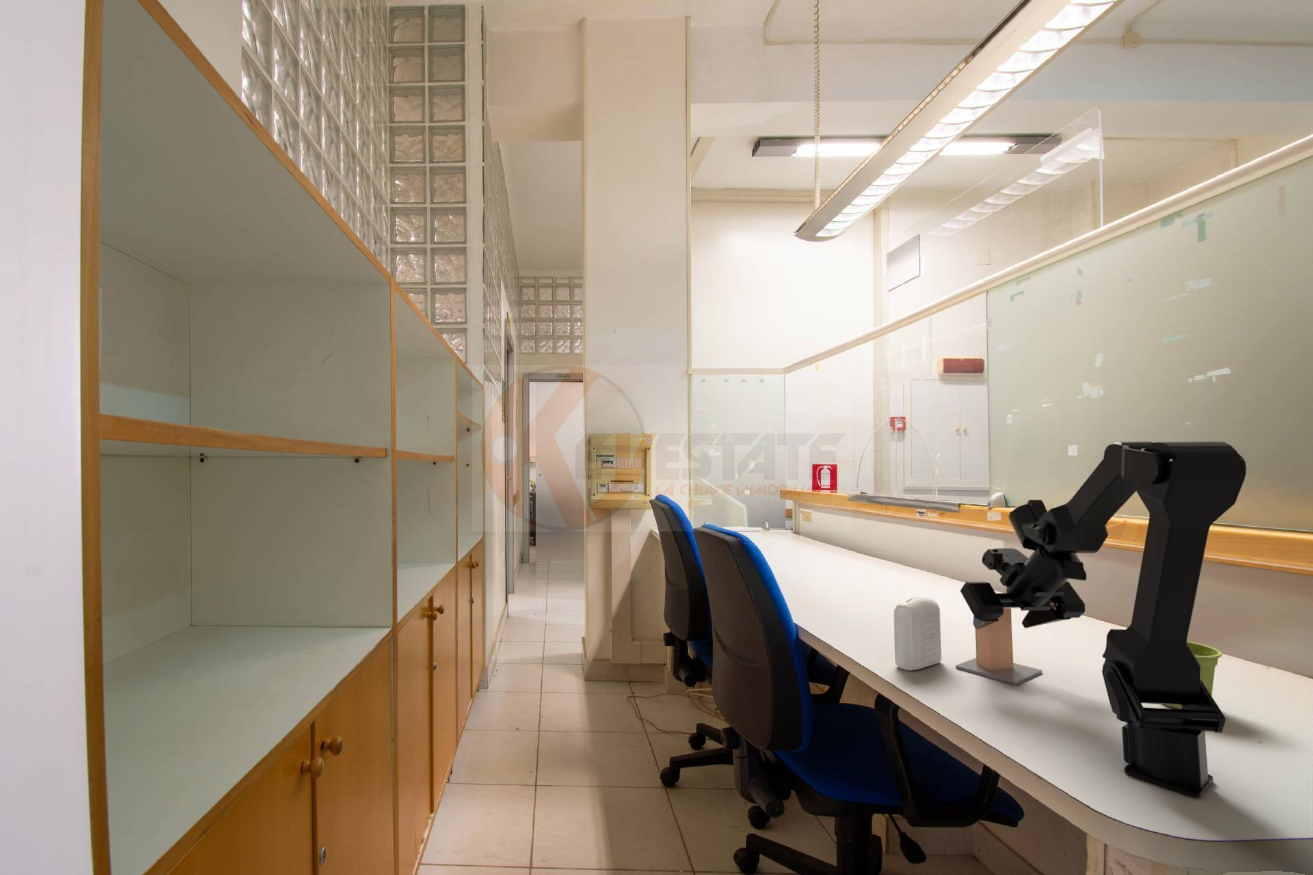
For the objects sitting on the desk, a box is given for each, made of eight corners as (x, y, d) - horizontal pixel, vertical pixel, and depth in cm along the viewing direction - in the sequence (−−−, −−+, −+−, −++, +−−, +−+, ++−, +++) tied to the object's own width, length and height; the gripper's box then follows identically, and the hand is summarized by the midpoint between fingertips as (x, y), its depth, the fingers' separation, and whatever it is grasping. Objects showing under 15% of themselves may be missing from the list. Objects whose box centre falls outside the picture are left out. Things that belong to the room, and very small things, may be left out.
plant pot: (1197, 721, 79) (1193, 658, 80) (1126, 696, 88) (1122, 640, 89) (1242, 713, 82) (1238, 652, 82) (1168, 689, 91) (1165, 635, 91)
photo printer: (923, 656, 108) (921, 591, 109) (945, 662, 104) (942, 595, 105) (891, 666, 102) (889, 598, 103) (913, 673, 99) (910, 602, 99)
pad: (1042, 672, 99) (1041, 669, 99) (1016, 685, 93) (1016, 682, 93) (982, 657, 107) (982, 655, 107) (955, 668, 101) (955, 665, 101)
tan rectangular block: (1013, 667, 100) (1010, 599, 101) (990, 670, 99) (987, 601, 99) (999, 662, 103) (996, 595, 104) (976, 664, 102) (974, 597, 102)
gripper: (1067, 533, 96) (1023, 586, 106) (964, 534, 95) (930, 588, 105) (1111, 588, 88) (1059, 640, 98) (999, 590, 86) (958, 643, 96)
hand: (999, 626), depth 99 cm, fingers open, 9 cm apart
